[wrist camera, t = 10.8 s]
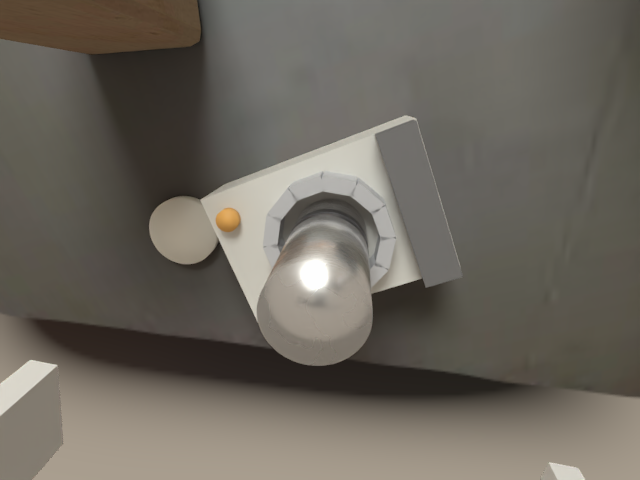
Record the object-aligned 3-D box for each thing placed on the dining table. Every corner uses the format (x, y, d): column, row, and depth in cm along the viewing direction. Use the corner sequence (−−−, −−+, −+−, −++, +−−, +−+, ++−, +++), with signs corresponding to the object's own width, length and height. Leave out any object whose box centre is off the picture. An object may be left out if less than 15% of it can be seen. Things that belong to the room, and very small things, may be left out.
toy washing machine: (405, 115, 32) (420, 119, 25) (443, 240, 35) (467, 278, 28) (225, 184, 35) (189, 206, 28) (274, 293, 38) (254, 341, 31)
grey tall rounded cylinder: (300, 192, 29) (263, 251, 17) (373, 205, 29) (384, 273, 17) (290, 260, 30) (250, 354, 19) (359, 272, 30) (360, 375, 19)
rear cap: (203, 185, 36) (196, 188, 34) (232, 246, 37) (227, 252, 36) (145, 208, 37) (136, 212, 36) (175, 266, 39) (168, 272, 37)
